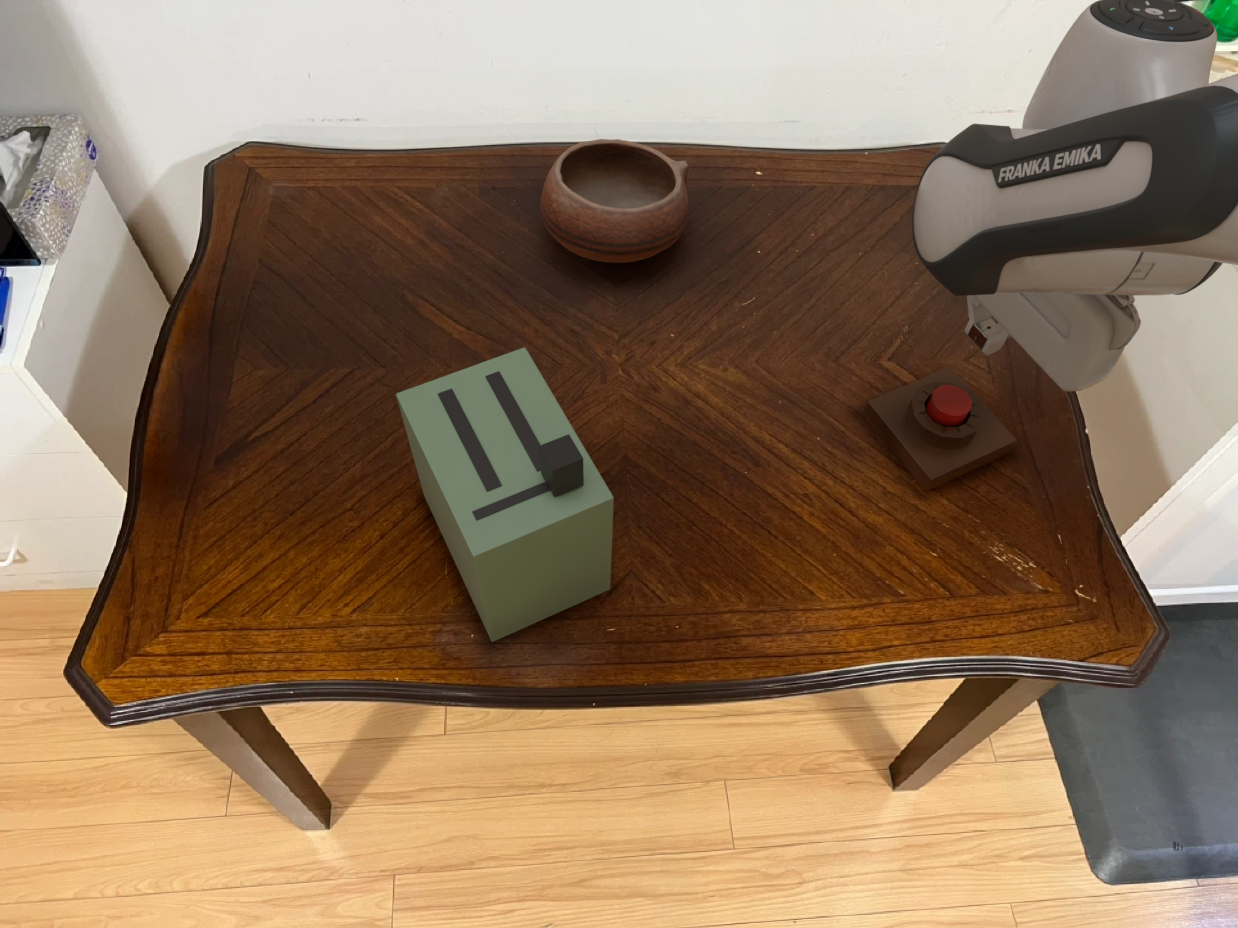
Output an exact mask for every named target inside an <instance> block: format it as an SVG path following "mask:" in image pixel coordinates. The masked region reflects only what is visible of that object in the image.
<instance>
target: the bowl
mask: <svg viewBox="0 0 1238 928" xmlns="http://www.w3.org/2000/svg"><path fill="white" fill-rule="evenodd" d="M689 169H690V166H689V165H688V163H687V161H686V160H679V161H678V160H677V161H676V160H675V159H672V158H670V157H669V156H668V155H666V154H664V153H663V152H662V151H660V150H658V149H655V148H653V147H651V146H648V145H645V144H642V143H638V142H633V141H629V140H624V139H618V138H615V139H614V138H613V139H607V138H599V139H593V140H585V141H580V142H578V143H576V144H574V145H572V146H570V147H568V148H566V150H565V151H563V152H562V153H561V154H560V155H559V156H558V157H557V158H556V160H555V161H554V162H553V165H552V166H551V168H550V170H549V171H548V174H547V176H546V178H545V181H544V184H543V187H542V190H541V192H542V193H541V196H540V212H541V213H540V214H541V218H542V222H543V224H544V226H545V228H546V230H547V231H548V233H549V234H550V235H551V237H553V239H555V241H556V242H558V243H559V244H560V245H561V246H562V247H563V248H565V249H566V250H568V251H569V252H571V253H573V254H575V255H577V256H579V257H582V258H586V259H587V260H592V261H595V262H601V263H602V262H603V263H614V264H616V263H617V264H618V263H619V264H621V263H623V264H624V263H633V262H637V261H641V260H642V261H643V260H646V259H649V258H651V257H653V256H655V255H658V254H659V253H661V252H664V251H665V250H667V249H669V248H670V247H671V246H672V245H674V244H675V243H676V242H677V241H678V240H679V239H680V237H681V235H682V234H683V233H684V230H685V229H686V225H687V222H688V217H689V205H690V204H689V196H688V195H689V194H688V190H687V184H688V176H689V174H688V173H689Z"/></svg>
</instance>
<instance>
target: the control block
mask: <svg viewBox="0 0 1238 928" xmlns="http://www.w3.org/2000/svg"><path fill="white" fill-rule="evenodd" d="M943 385H953V386H957V387H959V388H961V389H963V390H964V391H965V392H966V393H967V394H968V395H969V396H970V398H971V401H972V406H971V409H970V411H969V413H968V415H967V416H966V418H965V420H964V421H963V422H962V423H961V424H959V425H957V426H952V427H948V426H943V425H940V424H938V423H936V422H935V421H934V420H933V419H932V418H931V417H930V416H929V414H928V411H927V405H928V403H929V400H930V398H931V396H932V394H933V392H934V391H935V390H936V389H937V388H938V387H940V386H943ZM862 417H864V419H865V420H866V421H867V422H868V423H869V425H870V426H871V427H872V429H873V430H874V431H875V432H876V433H877V435H878V436H879V438H880V439H881V440H882V441H883V442H884V444H885V445H886V446H887V447H888V449H889V450H890V451H891V452H892V454H893V455H894V456H895V457H896V459H897V460H898V461H899V462H900V463H901V465H902V466H903V468H904V469H905V470H906V471H907V472H908V474H909V475H910V476H911V477H912V479H913V480H914V481H915V483H917V485H918V486H919V487H920V489H921V490H922V491H923V492H924V493H926V492H928V491H930V490H933V489H935V488H937V487H939V486H942V485H944V484H946V483H948V482H951V481H953V480H955V479H957V478H959V477H961V476H963V475H965V474H967V473H970V472H971V471H975V470H976V469H978V468H980V467H984V466H985V465H987V464H990V463H991V462H993V461H996V460H998V459H1000V458H1002V457H1004V456H1006V455H1009V454H1010V452H1011V451H1012V449H1013V448H1014V446H1015V445H1016V443H1017V442H1018V440H1017V439H1016V437H1015V436H1014V435H1013V434H1012V433H1011V432H1010V431H1009V429H1008V428H1007V427H1006V426H1005V425H1004V424H1003V423H1002V421H1001V420H1000V419H998V417H997V416H996V415H995V414H994V412H992V410H991V409H990V408H989V407H988V406H987V404H985V402H983V400H981V398H980V397H979V395H977V393H975V391H974V390H973V389H972V388H971V387H970V386H969V384H968V383H966V381H965V380H964V378H962V376H960V374H959V373H958V372H957V371H956V370H955V369H954V368H953V367H952V366H951V365H950V366H947V367H946V368H943V369H939V370H938V371H936V372H933V373H931V374H929V375H926V376H924V377H921V378H919V379H916V380H914V381H912V382H910V383H907V384H905V385H903V386H900V387H897V388H895V389H893V390H890V391H888V392H886V393H883V394H881V395H879V396H877V397H874V398H872V399H869V400H867V402H866V405H865V407H864V410H863V412H862Z"/></svg>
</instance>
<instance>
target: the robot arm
mask: <svg viewBox="0 0 1238 928" xmlns="http://www.w3.org/2000/svg"><path fill="white" fill-rule="evenodd" d="M1217 43H1218V33H1217V30H1216V27H1215V25H1214V24H1213V22H1212V21H1211V20H1210V19H1209V18H1208V17H1207V16H1205V14H1204V13H1202V12H1201V11H1199V10H1198V9H1196V8H1194V7H1192V6H1191V5H1188V4H1185V3H1183V2H1180V1H1175V0H1096V1H1094V2H1092V3H1090V5H1088V6H1087V7H1086V8H1085V9H1084V10H1083V11H1082V12H1081V13H1080V15H1078V17H1077V18H1076V19H1075V21H1074V22H1073V23H1072V25H1071V26H1070V28H1069V29H1068V31H1067V32H1066V34H1065V35H1064V37H1063V38H1062V40H1061V41H1060V43H1059V45H1058V46H1057V48H1056V50H1055V52H1054V53H1053V55H1052V57H1051V59H1050V60H1049V62H1048V64H1047V66H1046V68H1045V69H1044V72H1043V74H1042V76H1041V78H1040V80H1039V82H1038V84H1037V86H1036V88H1035V90H1034V92H1033V94H1032V96H1031V98H1030V100H1029V103H1028V106H1027V107H1026V110H1025V113H1024V115H1023V119H1022V127H1021V128H1019V127H1018V128H1016V127H1015V128H1013V127H1011V126H1010V125H999V124H998V125H997V124H984V123H972V124H970V125H968V126H967V127H966V128H964V129H963V130H961V131H960V132H959V133H958V134H956V135H954V137H952V138H951V139H950V140H949V141H948V142H947V143H946V144H944V145H943V146H942V148H940V150H938V151H937V152H936V153H935V155H933V156H932V158H931V159H930V160H929V161H928V163H927V164H926V166H925V168H924V170H923V172H922V173H921V176H920V179H919V180H918V184H917V186H916V191H915V194H914V199H913V205H912V216H911V231H912V240H913V246H914V250H915V252H916V254H917V256H918V259H919V260H920V261H921V263H922V264H923V266H924V268H926V269H927V271H928V272H929V273H930V274H931V275H932V276H933V277H934V278H935V280H937V282H939V283H940V284H941V285H942V286H943V287H944V288H945V289H946V290H948V291H949V292H950V293H951V294H952V295H954V296H955V297H956V296H957V297H963V296H966V305H967V315H968V319H969V320H968V321H967V324H966V326H965V328H964V330H963V331H964V334H966V336H968V337H969V338H970V340H971V341H972V342H973V343H974V344H975V345H976V346H977V347H978V348H979V350H980V351H981V352H982V353H983V354H984V355H985V356H989V355H992V354H994V353H997V352H999V351H1000V350H1001V349H1002V348H1003V346H1004V345H1005V343H1006V341H1007V340H1008V339H1010V338H1012V339H1013V340H1014V341H1015V342H1016V343H1017V344H1018V345H1019V346H1020V347H1021V348H1022V350H1024V351H1025V352H1026V353H1027V354H1028V356H1029V357H1030V358H1031V359H1032V360H1033V361H1034V363H1036V364H1037V365H1038V366H1039V367H1040V368H1041V369H1042V371H1044V373H1045V374H1047V376H1048V377H1049V378H1050V379H1051V380H1052V381H1053V382H1054V383H1055V384H1056V386H1057V387H1058V388H1060V389H1061V391H1063V392H1068V393H1069V392H1070V393H1071V392H1081V391H1083V390H1086V389H1088V388H1090V387H1093V386H1095V385H1098V383H1101V382H1103V381H1104V380H1105V379H1107V378H1108V377H1109V376H1110V374H1111V373H1112V372H1113V370H1114V368H1115V366H1116V365H1117V363H1118V361H1119V360H1120V358H1121V355H1122V354H1123V352H1124V350H1125V348H1126V346H1127V345H1129V343H1130V342H1131V341H1132V339H1133V338H1134V336H1136V334H1137V332H1138V331H1139V330H1140V327H1141V324H1142V320H1141V318H1140V316H1139V312H1138V310H1137V307H1136V306H1135V304H1134V303H1135V301H1136V298H1135V297H1134V296H1148V297H1149V296H1150V297H1151V296H1153V297H1154V296H1171V295H1175V296H1181V295H1185V294H1187V293H1189V292H1191V291H1193V290H1195V289H1196V288H1198V287H1200V286H1201V285H1202V284H1204V283H1206V281H1207V280H1209V279H1210V278H1211V277H1212V276H1213V275H1214V274H1215V273H1216V272H1217V271H1218V270H1219V269H1220V267H1221V266H1222V265H1223V264H1228V265H1234V266H1238V73H1234V74H1232V75H1229V76H1226V77H1223V78H1221V79H1217V80H1215V81H1212V82H1210V75H1211V68H1212V64H1213V61H1214V56H1215V54H1216V53H1215V52H1216V48H1217ZM996 322H997V323H996Z"/></svg>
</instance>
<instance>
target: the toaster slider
mask: <svg viewBox="0 0 1238 928" xmlns="http://www.w3.org/2000/svg"><path fill="white" fill-rule="evenodd" d="M539 455H540V468H541V474H542V476H543V478H544V480H545V481H546V483H547V485H548V487H549V489H550V490H551V492H552V494H553V496H554V497H556V496H558V495H561V494H563V493H566V492H568V491H571V490H573V489H575V488H578V487H580V486H583V485H584V475H583V457H582V455H581V454H580V452H579V450H578V449H577V447H576V445H575V443H574V442H573V440H572V438H571V437H570V435H569V434H568V435H565V436H563V437H560V438H558V439H555V440H553V441H550V442H547V443H545V444H542V445H540V446H539Z"/></svg>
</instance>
